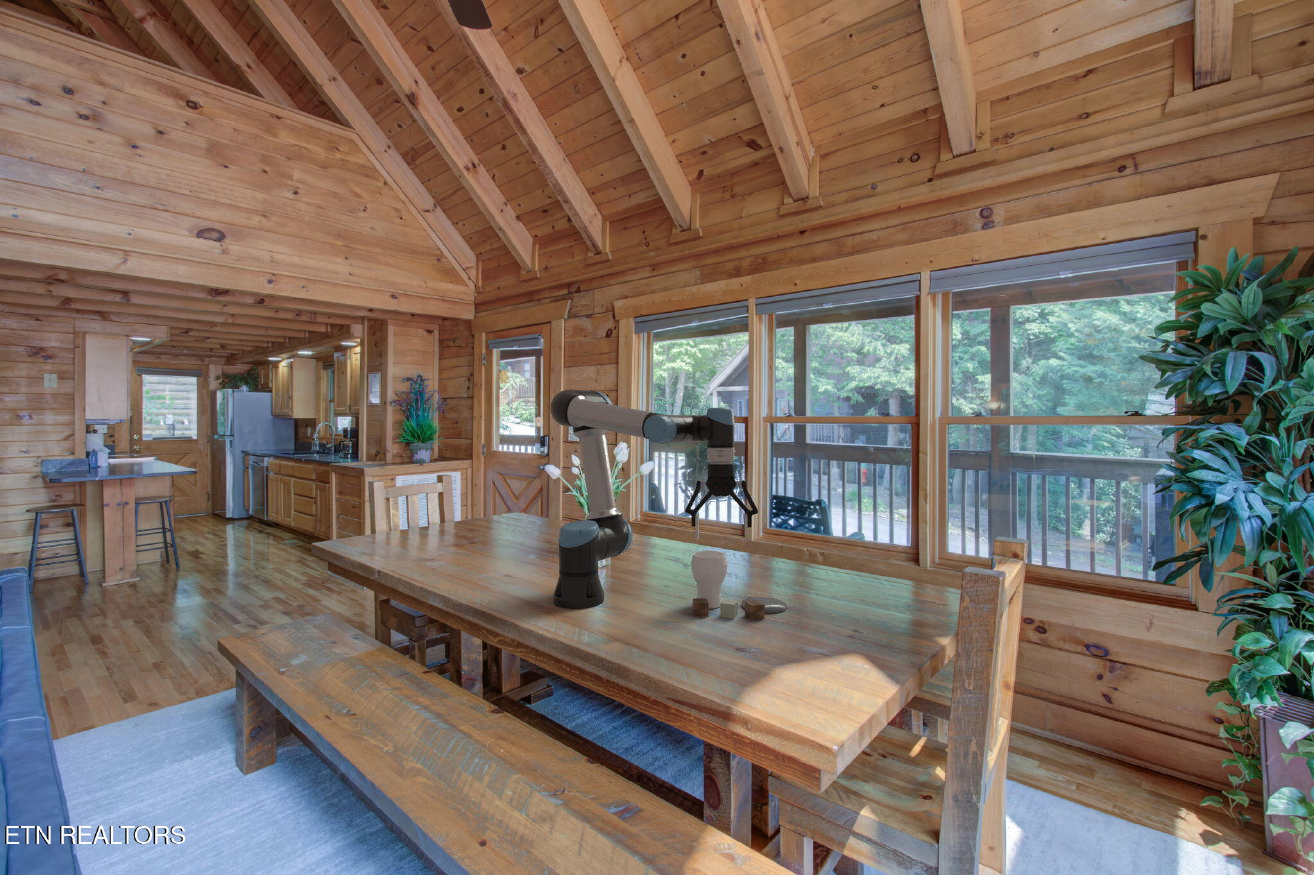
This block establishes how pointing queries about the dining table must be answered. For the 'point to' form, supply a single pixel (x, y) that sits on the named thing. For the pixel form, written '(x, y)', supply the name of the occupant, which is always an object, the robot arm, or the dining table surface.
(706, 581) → the cup
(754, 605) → the block
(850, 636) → the dining table surface
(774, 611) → the coaster
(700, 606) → the block
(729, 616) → the block
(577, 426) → the robot arm
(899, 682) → the dining table surface
